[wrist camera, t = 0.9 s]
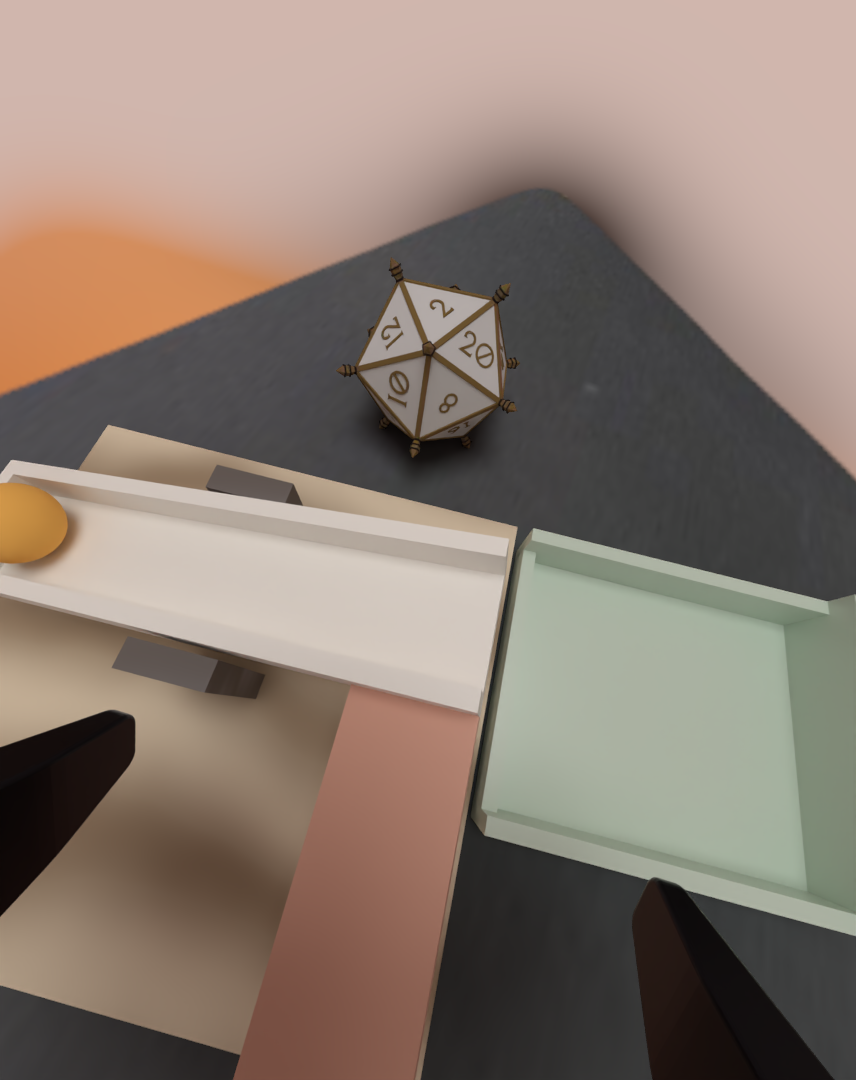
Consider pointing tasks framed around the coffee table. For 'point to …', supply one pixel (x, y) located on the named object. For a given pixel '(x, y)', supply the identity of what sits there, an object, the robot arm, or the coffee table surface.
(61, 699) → the lever stand
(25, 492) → the ball
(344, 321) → the coffee table surface
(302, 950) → the lever
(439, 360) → the game die
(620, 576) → the tray
